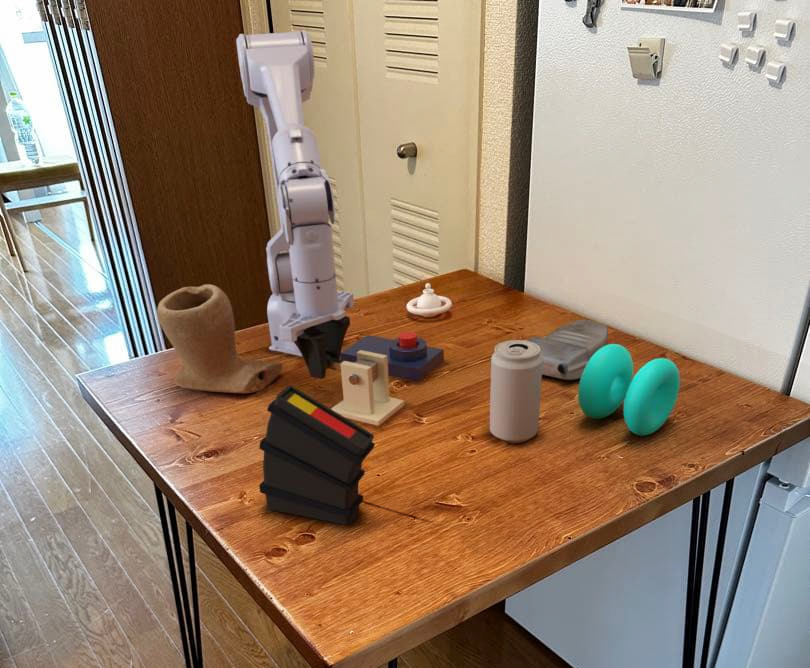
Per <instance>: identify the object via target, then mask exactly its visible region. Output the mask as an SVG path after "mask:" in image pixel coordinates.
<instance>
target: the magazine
mask: <svg viewBox="0 0 810 668" xmlns="http://www.w3.org/2000/svg"><path fill="white" fill-rule="evenodd" d="M266 410H267V412H269V413H270V415H269V419H268V421H267V425H266V426H267V427H266V434H265V437H263V438H262V439H261V440H260V441H259V450H261V451H263V459H262V460H263V461H262V470H263V471H262V472H263V480H262V481H261V482H260V484H259V485H258V487H259V493H260V494H264V495H265V501H266V508H267V510H270V511H274V512H279V513H284V514H288V515H289V514H290V515H293V516H294V515H295V516H298V517H303V518H309V519H313V520H319V521H324V522H329V523H333V524H339V525H344V526H350V525H351V524H352V522H353V521H354V520H355V518H356V517H357V516H358V515H359V513H360V505H361V504H362V502H363V501H364V495H363V494H360V493H359V484H360V481H361V479H362V478H363V477H364V476H365V472H366V471H365V470H364V469H362V466H363V462H364V460H365V459H366V458H367V457H368V456H369V454H370V453H371V452H372V451H373V449H374V447H375V445H376V443H375V442H373V440H374V438H375V435H374V434H373V433H372V432H370V431H369V430H367V429H365V428H363V427H362V426H360V425H359V424H356V423H355V422H353V421H352V420H351V419H349V418H345V417H343V416H342V415H340V414H338V413H337V412H335V411H333V410H332V409H331V408H330V407H328V406H327V405H326V404H323V403H321V402H320V401H318V400H317V399H315V398H314V397H311V396H310V395H308V394H306V393H305V392H303V391H302V390H300V389H298V388H297V387H295V386H294V385H287V386H286V387H285V388H284V389H282V391H280V392H279V393H278V394H276V398H275V399H274V400H272V401H271V402H270V403H269V404H268V407H267V409H266Z"/></svg>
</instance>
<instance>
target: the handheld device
mask: <svg viewBox="0 0 810 668" xmlns="http://www.w3.org/2000/svg"><path fill="white" fill-rule="evenodd" d="M608 336H609V330H608V327H607V325H606V324H605V323H602V322H598V321H593V320H588V319H579V320H578V319H577V320H574V321H572V322H568V323H566V324H564V325H561V326H559V327H558V328H556V329H554V330H553V331H551V332H550V333H548V334H547V335H546V336H545V337H542V336H537V335H533V336H531V337H530V338H529V339H527V341H530V342H533V343H535V344H537V345H538V346H539V347H540V354H541V355H542V357H543V365H542V376H548V377H551V378H555V379H556V378H557V379H561V380H566V381H574V380H579V379H581V376H582V373H583V371H584V369H585V367H586V365H587V363H588V361H589V360H590V358H591V357H592V356H593V355H594V354H595V353H596V352H597V351H598V350H599V349H601V348H602V347H604V346H606V345H608Z"/></svg>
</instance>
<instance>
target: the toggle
mask: <svg viewBox="0 0 810 668" xmlns="http://www.w3.org/2000/svg"><path fill="white" fill-rule="evenodd" d="M343 361H344V360H341V359H337V358H333V357H332V355H331V354H330V352H328V351H327V350H326V370H328V369H329V368H330V367H331V368H335V369H336V370H339V371H341V363H342V362H343ZM355 363H357V364H362V365H366V366H371V367H372V380H373V382H374V381H376V380H377V379H378V363H375V362H372V361H368V360H364V359H359V360H357V361H356V362H355Z"/></svg>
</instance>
